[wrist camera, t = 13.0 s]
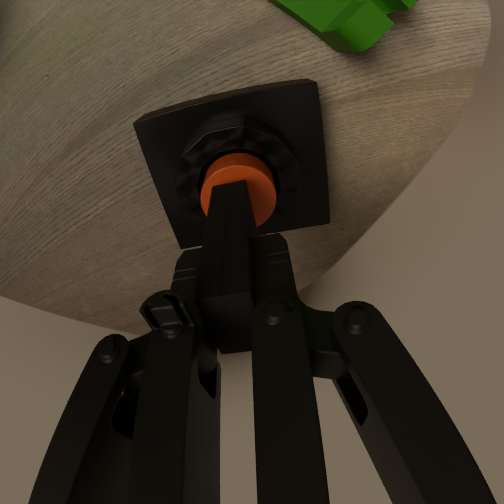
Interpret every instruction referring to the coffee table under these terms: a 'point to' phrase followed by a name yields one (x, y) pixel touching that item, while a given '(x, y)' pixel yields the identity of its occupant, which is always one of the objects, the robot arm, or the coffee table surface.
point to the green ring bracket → (345, 20)
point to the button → (243, 169)
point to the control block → (240, 141)
